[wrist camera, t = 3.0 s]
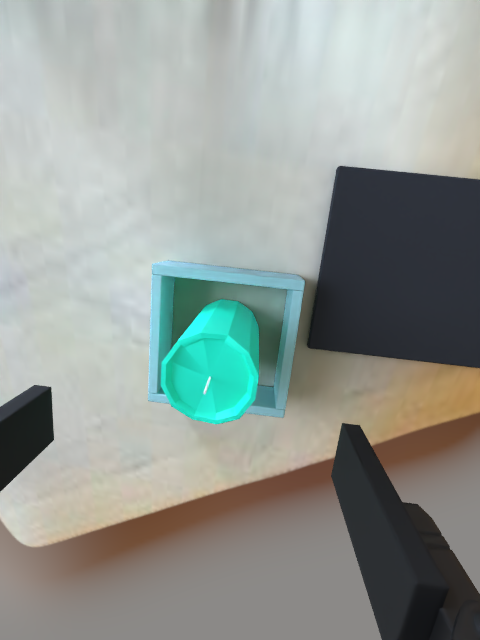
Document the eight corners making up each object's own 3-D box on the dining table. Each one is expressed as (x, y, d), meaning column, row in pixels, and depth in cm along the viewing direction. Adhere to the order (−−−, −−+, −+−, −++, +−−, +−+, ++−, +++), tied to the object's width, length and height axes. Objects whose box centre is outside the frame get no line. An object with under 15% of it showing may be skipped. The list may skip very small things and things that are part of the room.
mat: (307, 345, 29) (308, 348, 28) (336, 167, 25) (339, 165, 24) (495, 367, 28) (502, 371, 27) (555, 189, 24) (565, 187, 23)
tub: (161, 380, 30) (147, 401, 26) (166, 260, 27) (151, 263, 24) (280, 395, 30) (284, 418, 26) (298, 274, 27) (305, 280, 23)
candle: (272, 337, 29) (281, 404, 17) (221, 373, 30) (197, 458, 18) (231, 285, 28) (212, 318, 16) (180, 324, 29) (128, 382, 17)
